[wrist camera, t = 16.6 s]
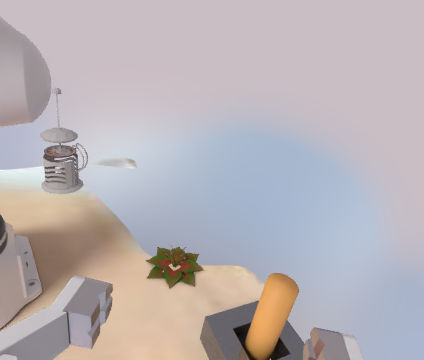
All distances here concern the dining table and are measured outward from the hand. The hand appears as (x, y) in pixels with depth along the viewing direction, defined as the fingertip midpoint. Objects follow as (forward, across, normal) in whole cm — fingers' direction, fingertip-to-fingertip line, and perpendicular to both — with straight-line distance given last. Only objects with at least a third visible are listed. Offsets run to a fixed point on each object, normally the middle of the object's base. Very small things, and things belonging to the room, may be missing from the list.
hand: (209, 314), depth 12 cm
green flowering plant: (+35, +6, +33) cm, 48 cm away
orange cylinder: (+19, -10, +32) cm, 39 cm away
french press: (+56, +40, +32) cm, 76 cm away
